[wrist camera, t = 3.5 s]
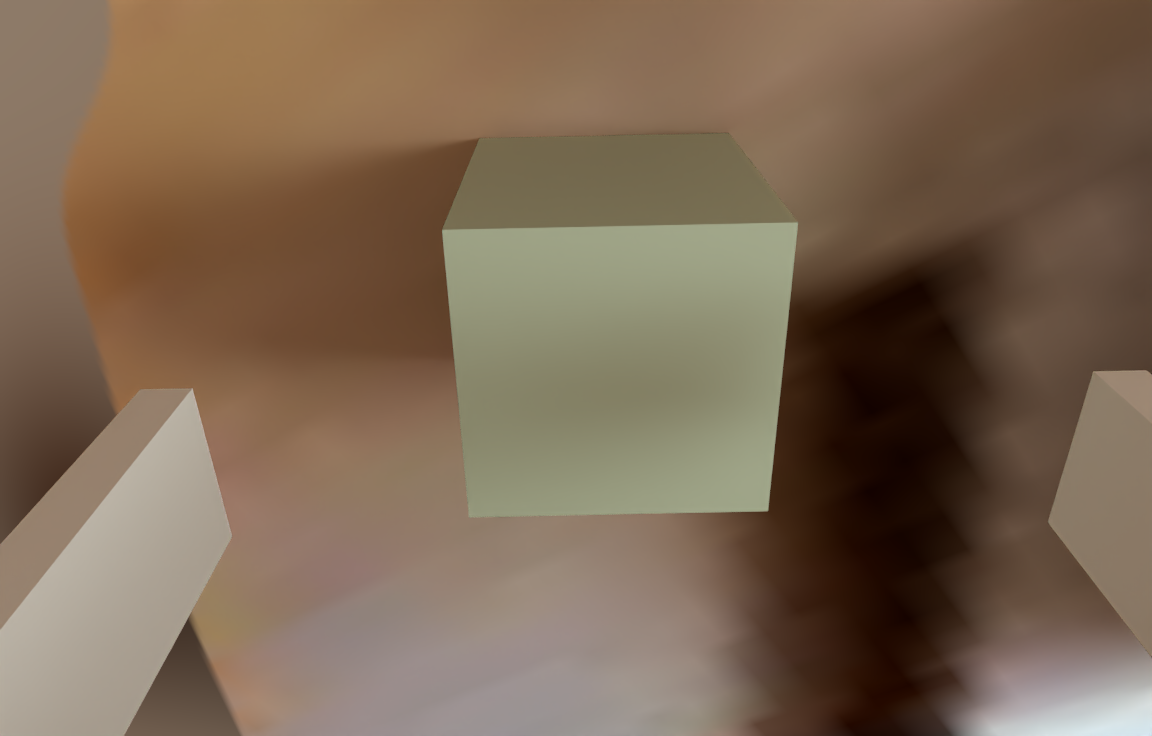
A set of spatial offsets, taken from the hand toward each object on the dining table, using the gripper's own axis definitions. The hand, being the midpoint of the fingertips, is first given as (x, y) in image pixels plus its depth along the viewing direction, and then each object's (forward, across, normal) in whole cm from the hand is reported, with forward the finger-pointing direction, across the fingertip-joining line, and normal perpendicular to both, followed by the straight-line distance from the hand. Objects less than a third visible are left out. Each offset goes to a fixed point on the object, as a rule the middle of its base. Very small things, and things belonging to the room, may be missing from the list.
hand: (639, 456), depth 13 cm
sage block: (+10, 0, 0) cm, 10 cm away
